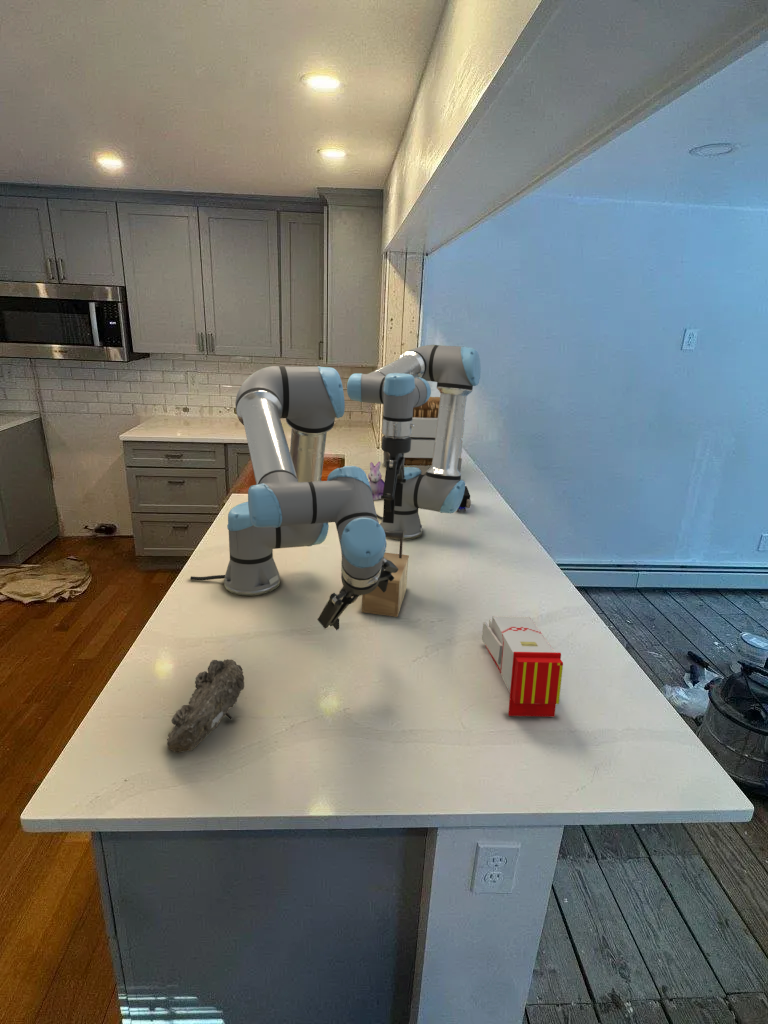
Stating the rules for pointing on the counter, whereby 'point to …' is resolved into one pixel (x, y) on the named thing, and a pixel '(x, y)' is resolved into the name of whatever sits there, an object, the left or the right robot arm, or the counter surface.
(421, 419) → the grey boxy piece
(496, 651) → the toy
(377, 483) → the figurine
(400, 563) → the lid
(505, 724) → the counter surface
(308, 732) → the counter surface
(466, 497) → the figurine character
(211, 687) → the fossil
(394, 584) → the chest
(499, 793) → the counter surface
